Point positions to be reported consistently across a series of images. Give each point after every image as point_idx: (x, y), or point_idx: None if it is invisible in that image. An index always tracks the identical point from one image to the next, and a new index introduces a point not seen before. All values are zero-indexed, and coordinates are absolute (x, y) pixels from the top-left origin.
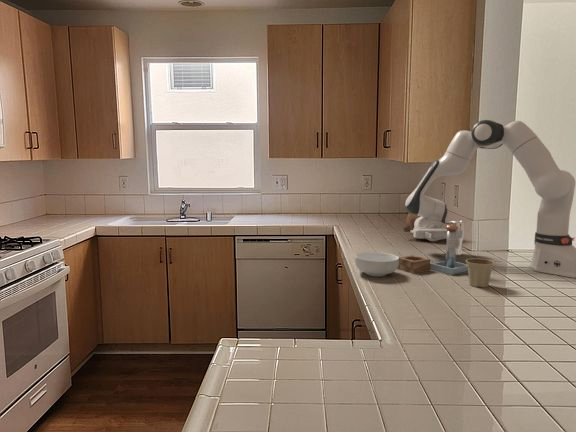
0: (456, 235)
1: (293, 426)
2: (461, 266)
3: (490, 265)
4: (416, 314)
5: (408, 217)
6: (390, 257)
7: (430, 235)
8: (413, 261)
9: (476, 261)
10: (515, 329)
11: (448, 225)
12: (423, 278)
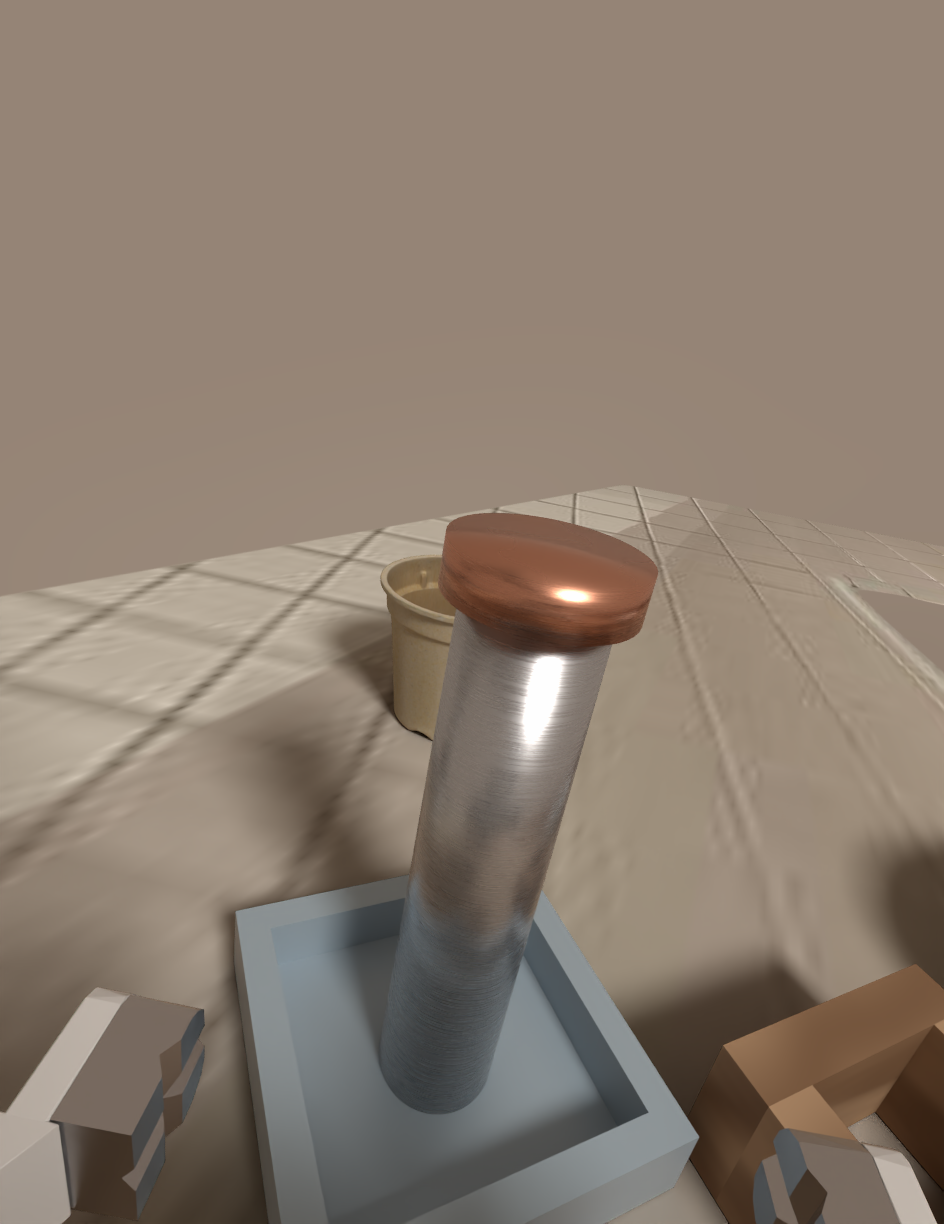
0: (120, 998)
1: (897, 538)
2: (376, 903)
3: (439, 565)
4: (786, 623)
5: None
6: None
7: (890, 1174)
8: (930, 994)
9: (443, 630)
10: None
11: (594, 576)
12: (762, 893)
